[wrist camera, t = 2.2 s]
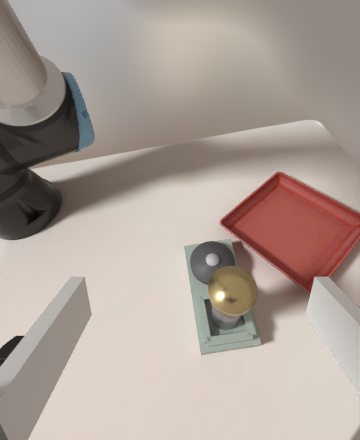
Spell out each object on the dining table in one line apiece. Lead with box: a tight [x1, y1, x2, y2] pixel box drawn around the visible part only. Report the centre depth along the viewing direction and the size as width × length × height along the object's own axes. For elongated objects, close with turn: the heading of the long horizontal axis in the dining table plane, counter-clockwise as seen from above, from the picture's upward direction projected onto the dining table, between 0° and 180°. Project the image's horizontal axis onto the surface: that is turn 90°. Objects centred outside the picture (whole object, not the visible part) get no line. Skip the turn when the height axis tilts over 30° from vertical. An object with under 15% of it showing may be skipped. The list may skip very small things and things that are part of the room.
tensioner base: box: [184, 239, 262, 355], centre depth 34 cm, size 16×8×4 cm, turn 7°
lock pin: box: [208, 266, 257, 331], centre depth 27 cm, size 5×5×12 cm
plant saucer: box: [220, 172, 360, 294], centre depth 40 cm, size 18×18×3 cm
